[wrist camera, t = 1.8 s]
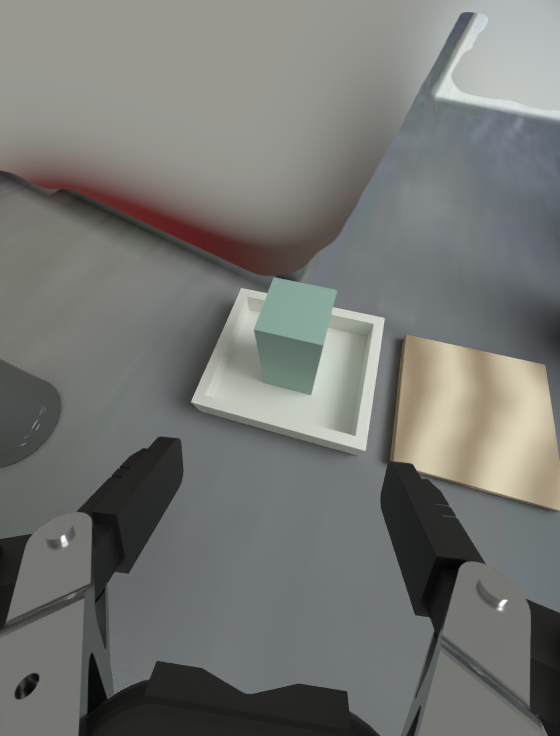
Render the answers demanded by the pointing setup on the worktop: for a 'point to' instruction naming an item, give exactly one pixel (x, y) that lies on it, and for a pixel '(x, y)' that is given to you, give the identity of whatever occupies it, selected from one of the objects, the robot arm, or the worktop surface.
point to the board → (477, 421)
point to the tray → (287, 407)
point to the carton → (293, 333)
